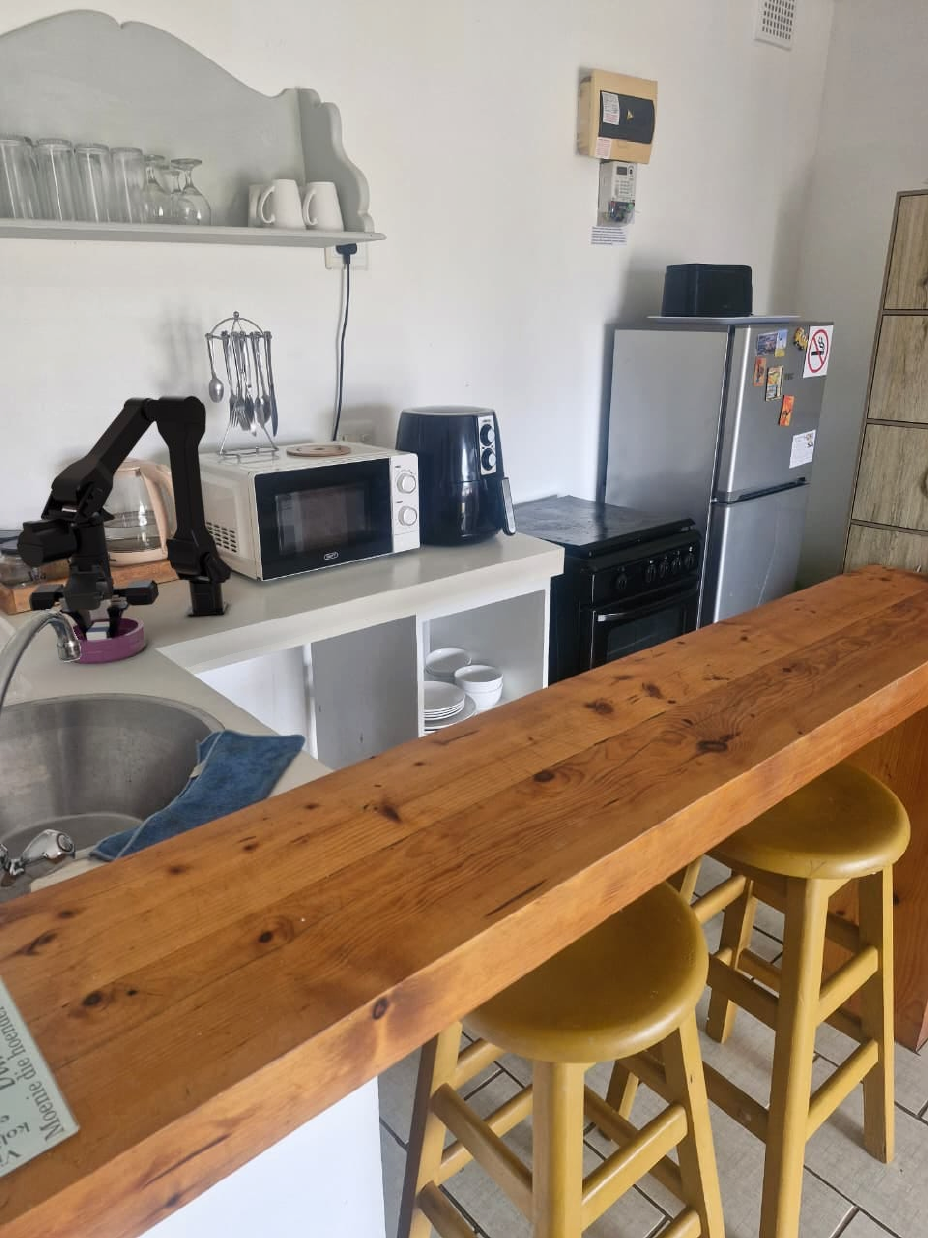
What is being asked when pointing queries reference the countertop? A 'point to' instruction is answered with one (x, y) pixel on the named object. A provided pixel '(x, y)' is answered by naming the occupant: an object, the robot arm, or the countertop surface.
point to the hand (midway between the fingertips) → (102, 644)
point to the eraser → (99, 631)
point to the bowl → (112, 642)
